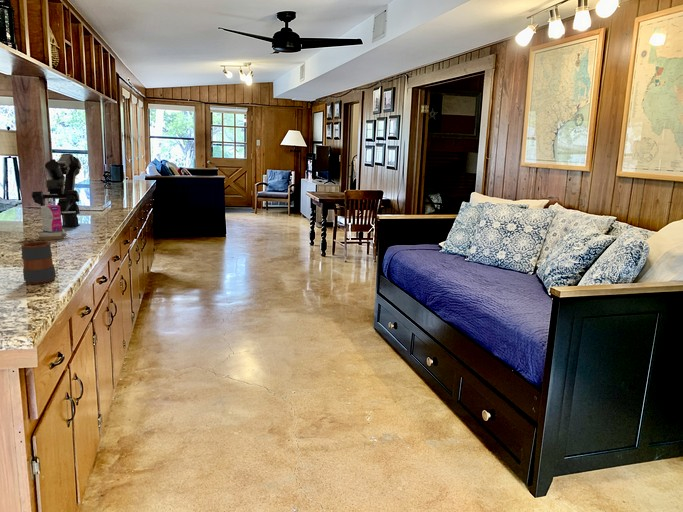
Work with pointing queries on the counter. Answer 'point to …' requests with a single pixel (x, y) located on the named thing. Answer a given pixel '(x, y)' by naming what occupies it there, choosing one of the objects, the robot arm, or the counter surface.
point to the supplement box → (51, 218)
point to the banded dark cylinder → (37, 263)
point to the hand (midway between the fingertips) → (54, 211)
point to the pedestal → (52, 235)
